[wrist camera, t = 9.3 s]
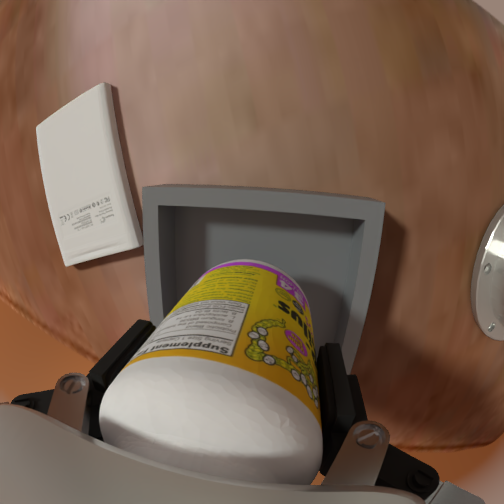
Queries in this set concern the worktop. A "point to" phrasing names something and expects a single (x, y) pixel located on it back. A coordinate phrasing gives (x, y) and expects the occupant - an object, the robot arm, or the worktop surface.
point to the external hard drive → (87, 179)
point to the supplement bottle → (225, 381)
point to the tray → (267, 248)
